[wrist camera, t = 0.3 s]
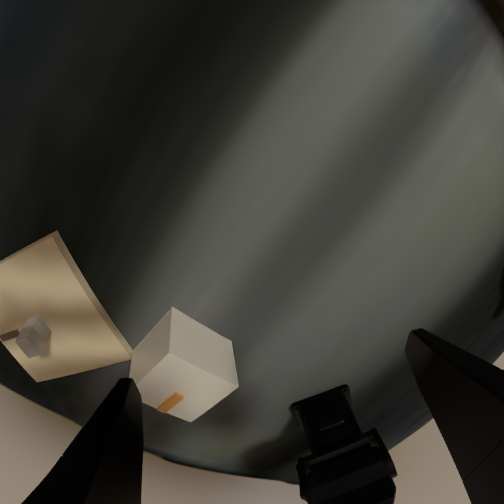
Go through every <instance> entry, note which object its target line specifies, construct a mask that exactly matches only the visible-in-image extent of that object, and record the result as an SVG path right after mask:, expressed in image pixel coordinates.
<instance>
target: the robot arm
mask: <svg viewBox="0 0 504 504" xmlns="http://www.w3.org/2000/svg"><path fill="white" fill-rule="evenodd" d="M405 354H406V357H407V359H408V362H409V364H410V367H411V369H412V372H413V374H414V377H415V380H416V382H417V385H418V387H419V389H420V392H421V394H422V396H423V398H424V400H425V402H426V404H427V406H428V408H429V410H430V412H431V414H432V416H433V418H434V420H435V422H436V424H437V426H438V428H439V430H440V432H441V434H442V436H443V439H444V441H445V443H446V445H447V447H448V449H449V451H450V454H451V456H452V458H453V460H454V463H455V465H456V467H457V469H458V471H459V474H460V476H461V479H462V480H463V484H464V486H465V489H466V491H467V493H468V496H469V499H470V501H471V504H504V370H502V369H501V370H500V368H498V367H496V366H494V365H492V364H490V363H489V362H487V361H485V360H483V359H481V358H479V357H477V356H475V355H473V354H471V353H469V352H467V351H465V350H463V349H462V348H460V347H458V346H456V345H454V344H452V343H450V342H448V341H446V340H444V339H442V338H440V337H438V336H436V335H434V334H432V333H430V332H428V331H426V330H425V329H422V328H418V329H415V330H412V331H411V332H410V333H409V336H408V340H407V343H406V347H405ZM292 409H293V411H294V414H295V416H296V418H297V421H298V423H299V425H300V427H301V430H302V431H305V434H306V437H307V440H308V443H309V446H310V450H311V453H312V454H311V455H308V456H306V457H300V458H298V459H297V460H298V464H297V465H296V469H297V472H298V476H299V485H300V497H301V499H303V500H305V501H307V503H308V504H394V500H395V494H396V486H395V484H394V482H393V479H392V478H394V477H396V476H397V472H396V469H395V466H394V463H393V461H392V459H391V456H390V454H389V452H388V450H387V449H386V447H385V445H384V443H383V441H382V439H381V437H380V436H379V434H378V432H377V430H376V428H375V427H374V428H372V429H370V431H367V432H365V433H363V434H362V432H361V430H360V428H359V425H358V423H357V421H356V419H355V416H354V414H353V411H352V403H351V396H350V389H349V387H348V385H343V386H340V387H338V388H335V389H333V390H330V391H328V392H325V393H322V394H320V395H317V396H314V397H311V398H308V399H306V400H303V401H300V402H297V403H294V404H293V405H292ZM143 444H144V440H143V418H142V398H141V394H140V392H139V390H138V388H137V386H136V383H135V381H134V380H133V379H132V378H120V379H119V380H118V381H117V382H116V384H115V385H114V386H113V388H112V389H111V390H110V391H109V393H108V394H107V395H106V397H105V398H104V399H103V401H102V402H101V403H100V405H99V406H98V407H97V409H96V410H95V411H94V413H93V414H92V415H91V417H90V418H89V419H88V421H87V422H86V423H85V425H84V426H83V427H82V429H81V430H80V431H79V433H78V434H77V435H76V437H75V438H74V440H73V441H72V442H71V444H70V445H69V446H68V448H67V449H66V450H65V452H64V453H63V456H61V457H60V459H59V460H58V461H57V463H56V464H55V465H54V467H53V468H52V469H51V471H50V472H49V473H48V474H47V476H46V477H45V478H44V479H43V480H42V481H41V483H40V484H39V485H38V486H37V487H36V488H35V489H34V491H32V493H31V494H30V495H29V496H28V497H27V498H26V499H25V500H24V501H23V502H22V503H21V504H141V485H142V463H143Z"/></svg>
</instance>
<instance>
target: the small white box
mask: <svg viewBox="0 0 504 504" xmlns="http://www.w3.org/2000/svg"><path fill="white" fill-rule="evenodd" d="M129 378H132V379H133V380H134V381H135V383H136V386H137V388H138V390H139V392H140V394H141V398H142V403H145V404H147V405H149V406H152V407H154V408H156V409H157V411H160V412H162V413H168V414H171V415H173V416H176V417H178V418H181V419H183V420H186V421H188V422H192V421H194V420H195V419H197V418H198V417H199V416H201V415H202V414H203V413H205V412H206V411H208V410H209V409H210V408H212V407H213V406H214V405H216V404H217V403H218V402H220V401H221V400H222V399H224V398H225V397H226V396H228V395H229V394H230V393H232V392H233V391H234V390H235V389H237V388H238V387H239V384H238V378H237V372H236V366H235V360H234V354H233V347H232V341H230V340H228V339H227V338H225V337H223V336H221V335H219V334H218V333H216V332H214V331H212V330H211V329H209V328H207V327H206V326H204V325H202V324H200V323H199V322H197V321H195V320H194V319H192V318H190V317H189V316H187V315H185V314H184V313H182V312H180V311H179V310H177V309H175V308H174V307H171V308H170V309H169V310H168V312H167V313H166V314H165V315H164V316H163V317H162V318H161V319H160V320H159V322H158V323H157V324H156V325H155V326H154V327H153V328H152V329H151V331H150V332H149V333H148V334H147V335H146V336H145V337H144V338H143V339H142V341H141V342H140V343H139V344H138V345H137V346H136V347H135V348H134V350H133V354H132V360H131V366H130V373H129Z"/></svg>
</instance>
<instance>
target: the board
mask: <svg viewBox="0 0 504 504" xmlns="http://www.w3.org/2000/svg"><path fill="white" fill-rule="evenodd" d="M0 340H1V341H2V343H3V344H4V345H5V346H6V348H7V349H8V350H9V351H10V353H11V354H12V355H13V356H14V357H15V358H16V360H17V361H18V362H19V363H20V364H21V365H22V367H23V368H24V369H25V370H26V371H27V372H28V373H29V374H30V375H31V377H32V378H33V379H34V380H35V381H36V382H40V381H45V380H50V379H54V378H58V377H63V376H67V375H71V374H76V373H80V372H84V371H88V370H92V369H96V368H100V367H104V366H108V365H112V364H115V363H119V362H123V361H127V360H130V359H132V354H133V350H132V348H131V347H130V345H129V344H128V343H127V341H126V340H125V339H124V337H123V336H122V334H121V333H120V332H119V330H118V329H117V327H116V326H115V324H114V323H113V322H112V320H111V319H110V317H109V316H108V314H107V313H106V311H105V310H104V308H103V307H102V305H101V304H100V302H99V301H98V299H97V298H96V296H95V294H94V293H93V291H92V290H91V288H90V286H89V285H88V283H87V282H86V280H85V278H84V277H83V275H82V273H81V272H80V270H79V268H78V267H77V265H76V263H75V262H74V260H73V258H72V256H71V255H70V253H69V251H68V249H67V248H66V246H65V244H64V242H63V240H62V239H61V237H60V235H59V233H58V231H55V232H53V233H51V234H50V235H48V236H46V237H44V238H42V239H40V240H38V241H36V242H34V243H32V244H30V245H29V246H27V247H25V248H23V249H21V250H19V251H17V252H16V253H14V254H12V255H10V256H8V257H7V258H5V259H3V260H1V261H0Z"/></svg>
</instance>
